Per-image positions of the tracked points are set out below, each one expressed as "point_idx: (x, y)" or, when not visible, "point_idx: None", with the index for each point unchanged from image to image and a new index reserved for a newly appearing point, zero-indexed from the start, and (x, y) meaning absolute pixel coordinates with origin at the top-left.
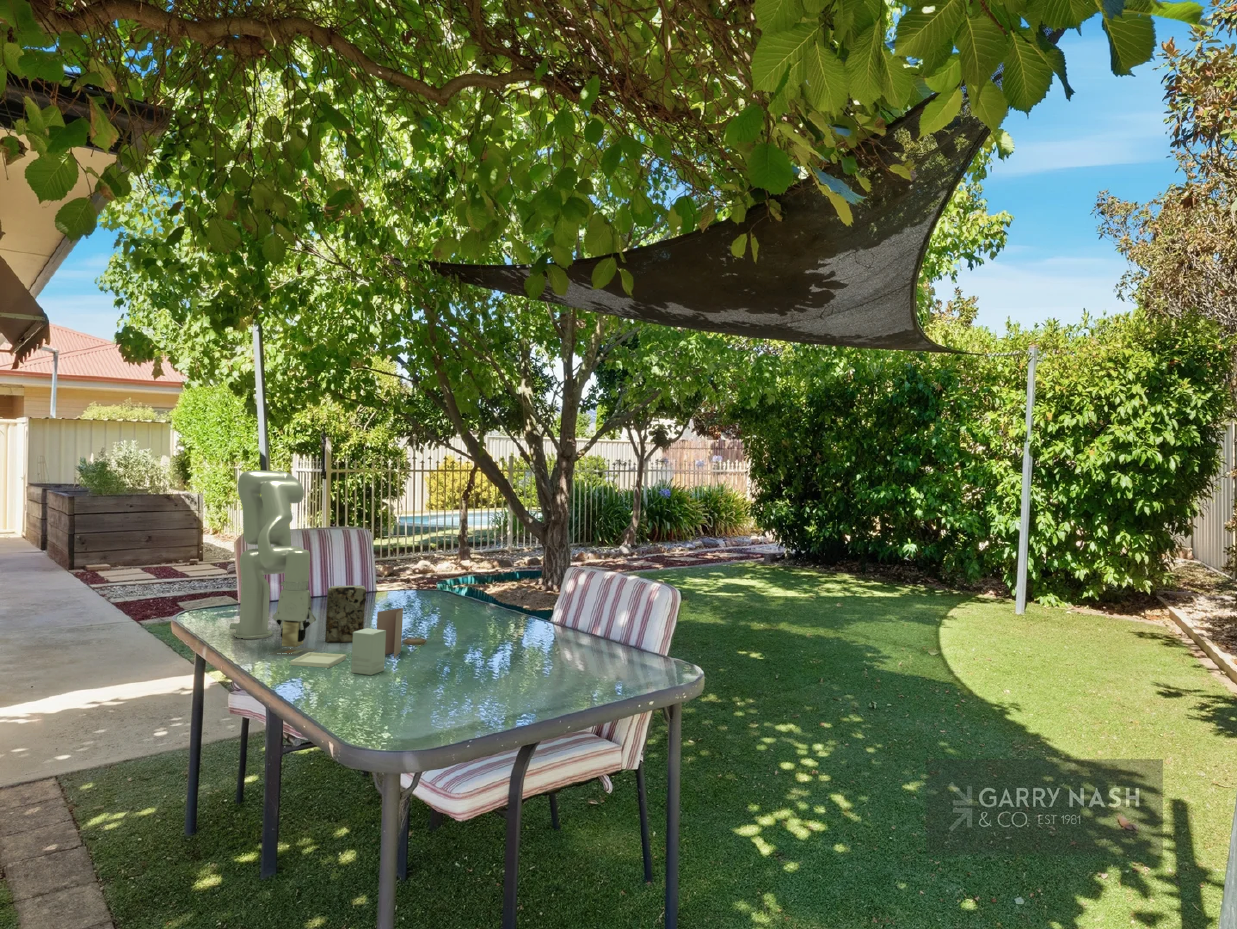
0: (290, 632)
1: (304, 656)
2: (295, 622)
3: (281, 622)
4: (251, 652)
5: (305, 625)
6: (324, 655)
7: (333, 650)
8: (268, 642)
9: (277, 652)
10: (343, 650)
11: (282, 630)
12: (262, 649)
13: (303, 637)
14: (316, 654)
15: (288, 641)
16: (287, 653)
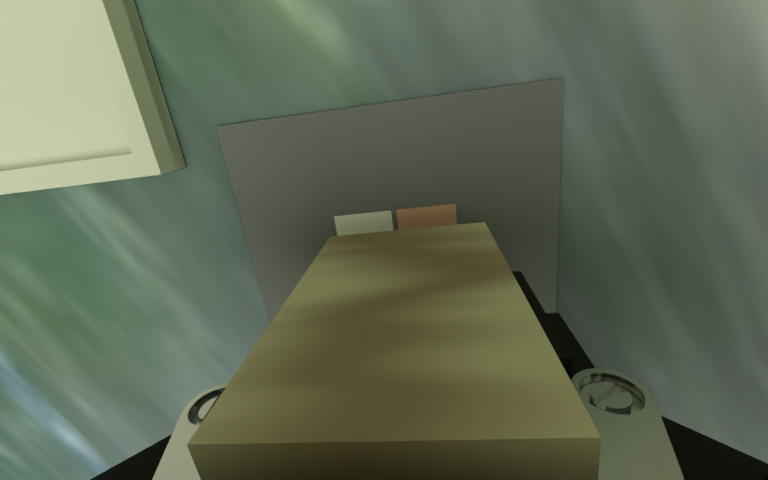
0: (383, 302)
1: (94, 26)
2: (273, 476)
3: (672, 471)
4: (761, 123)
5: (149, 470)
6: (22, 167)
7: (188, 393)
8: None
9: (505, 190)
10: (137, 410)
11: (554, 339)
12: (700, 262)
13: None
14: (84, 159)
15: (410, 245)
16: (401, 187)
